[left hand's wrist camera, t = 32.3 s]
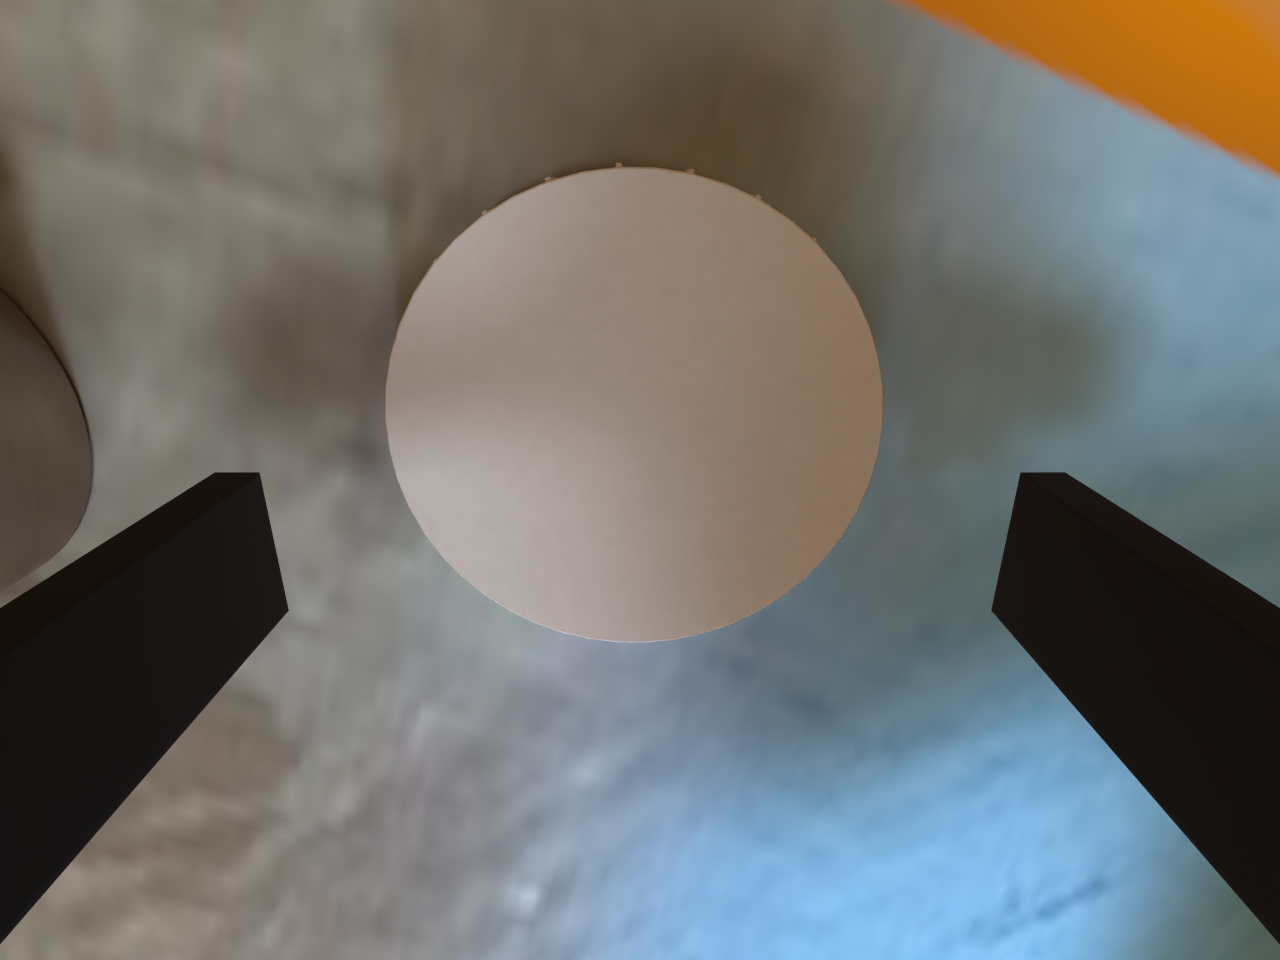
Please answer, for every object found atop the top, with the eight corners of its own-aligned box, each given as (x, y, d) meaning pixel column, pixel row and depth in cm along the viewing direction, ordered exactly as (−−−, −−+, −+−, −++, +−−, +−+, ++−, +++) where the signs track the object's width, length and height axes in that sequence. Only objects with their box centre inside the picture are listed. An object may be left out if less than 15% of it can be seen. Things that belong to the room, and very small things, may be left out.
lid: (394, 145, 15) (364, 139, 13) (907, 188, 15) (940, 189, 13) (417, 592, 19) (396, 630, 17) (818, 617, 19) (834, 657, 18)
